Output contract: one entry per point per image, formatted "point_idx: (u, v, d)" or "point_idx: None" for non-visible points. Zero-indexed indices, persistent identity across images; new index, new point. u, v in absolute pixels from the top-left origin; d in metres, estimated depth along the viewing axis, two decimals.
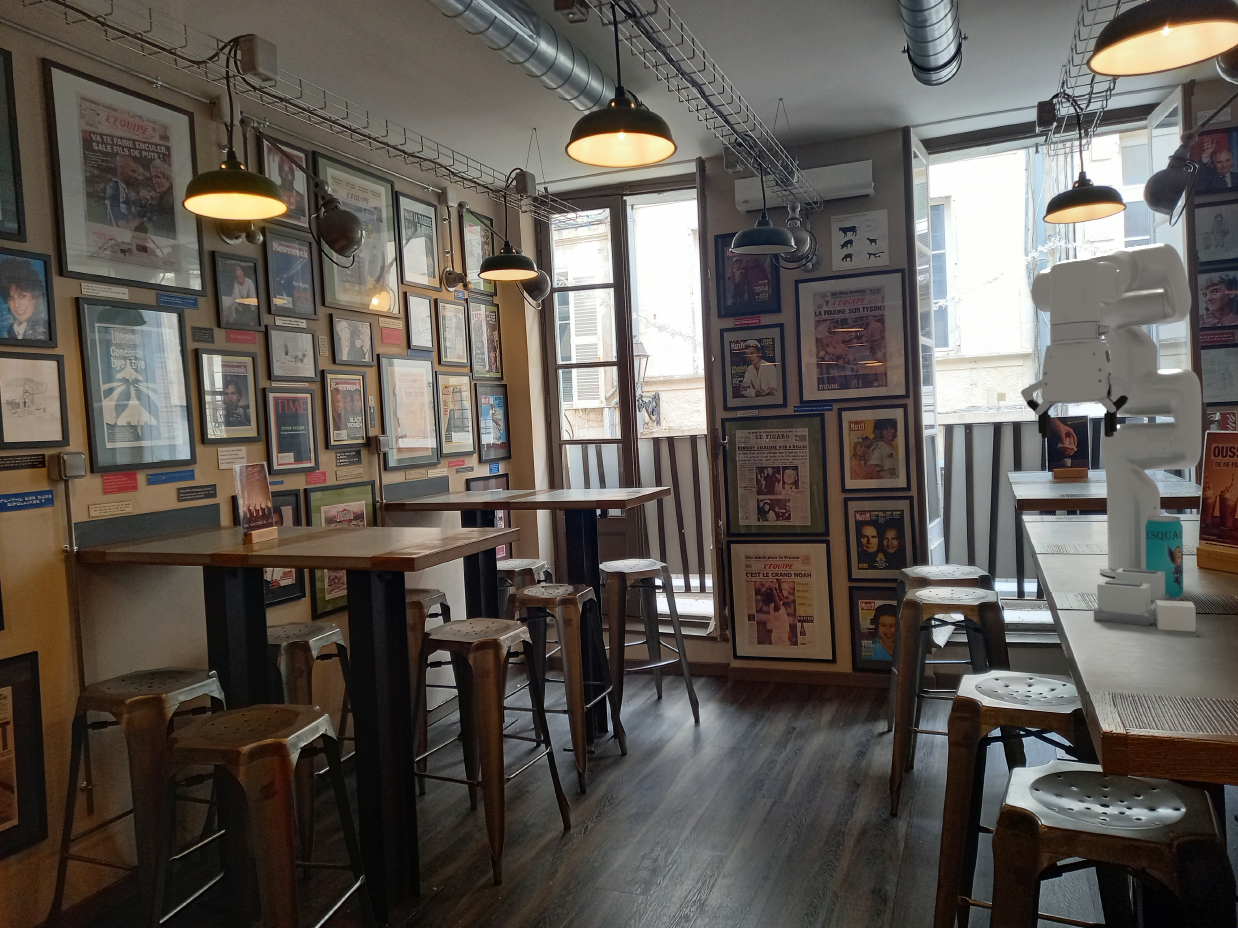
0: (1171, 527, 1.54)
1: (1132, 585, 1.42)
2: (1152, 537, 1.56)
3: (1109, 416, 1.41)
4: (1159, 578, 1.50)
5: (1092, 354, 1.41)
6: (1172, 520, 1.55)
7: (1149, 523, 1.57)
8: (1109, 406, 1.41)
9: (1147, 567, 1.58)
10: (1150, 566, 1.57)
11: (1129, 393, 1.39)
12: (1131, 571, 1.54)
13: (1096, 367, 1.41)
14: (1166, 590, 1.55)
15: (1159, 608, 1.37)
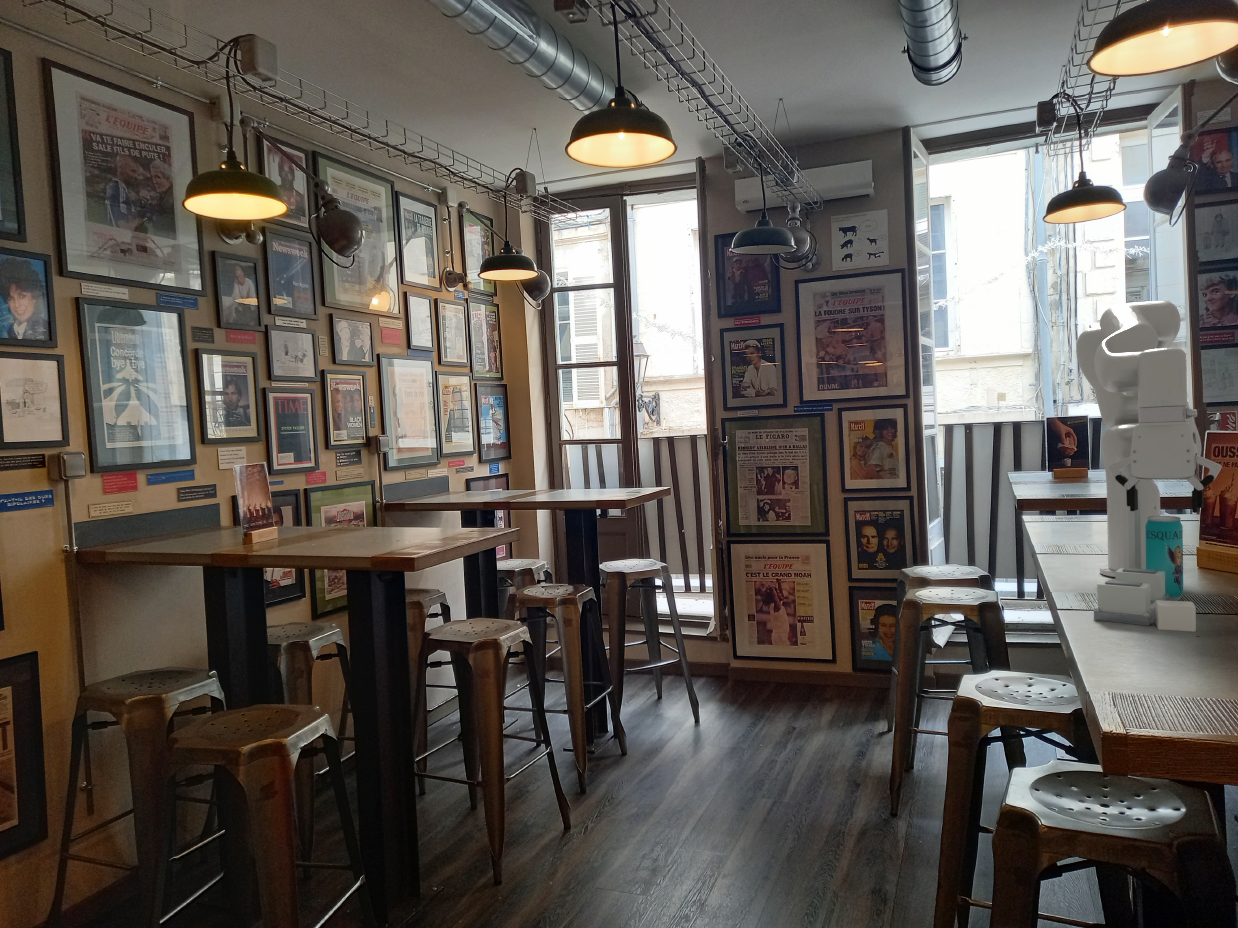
0: (1171, 527, 1.54)
1: (1132, 585, 1.42)
2: (1152, 537, 1.56)
3: (1196, 493, 1.52)
4: (1159, 578, 1.50)
5: (1180, 436, 1.53)
6: (1172, 520, 1.55)
7: (1149, 523, 1.57)
8: (1196, 484, 1.52)
9: (1147, 567, 1.58)
10: (1150, 566, 1.57)
11: (1216, 473, 1.51)
12: (1131, 571, 1.54)
13: (1184, 448, 1.52)
14: (1166, 590, 1.55)
15: (1159, 608, 1.37)
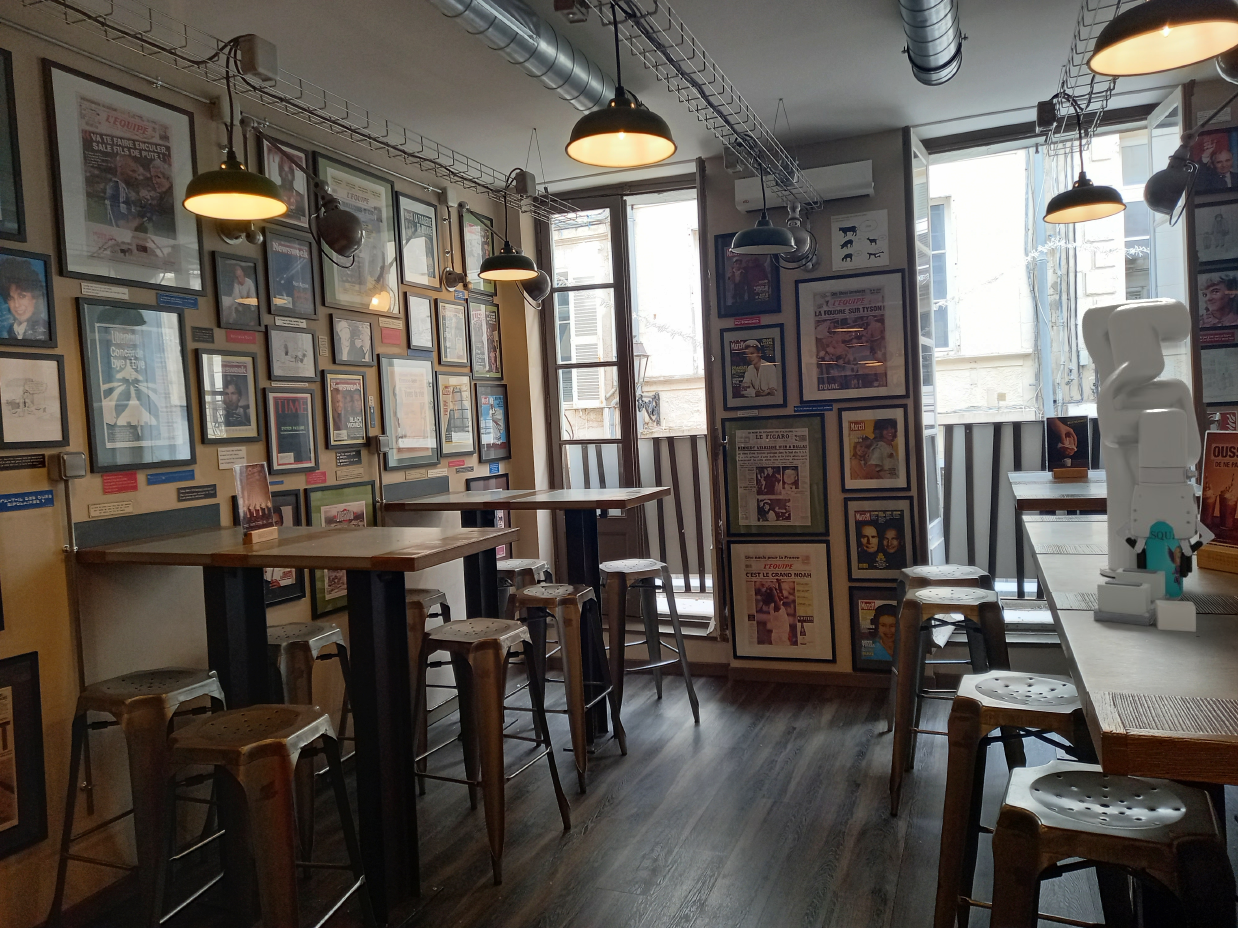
0: (1171, 527, 1.54)
1: (1132, 585, 1.42)
2: (1152, 537, 1.56)
3: (1185, 559, 1.54)
4: (1159, 578, 1.50)
5: (1181, 497, 1.53)
6: None
7: None
8: (1186, 550, 1.54)
9: (1147, 567, 1.58)
10: (1150, 566, 1.57)
11: (1206, 541, 1.53)
12: (1131, 571, 1.54)
13: (1184, 509, 1.53)
14: (1166, 590, 1.55)
15: (1159, 608, 1.37)
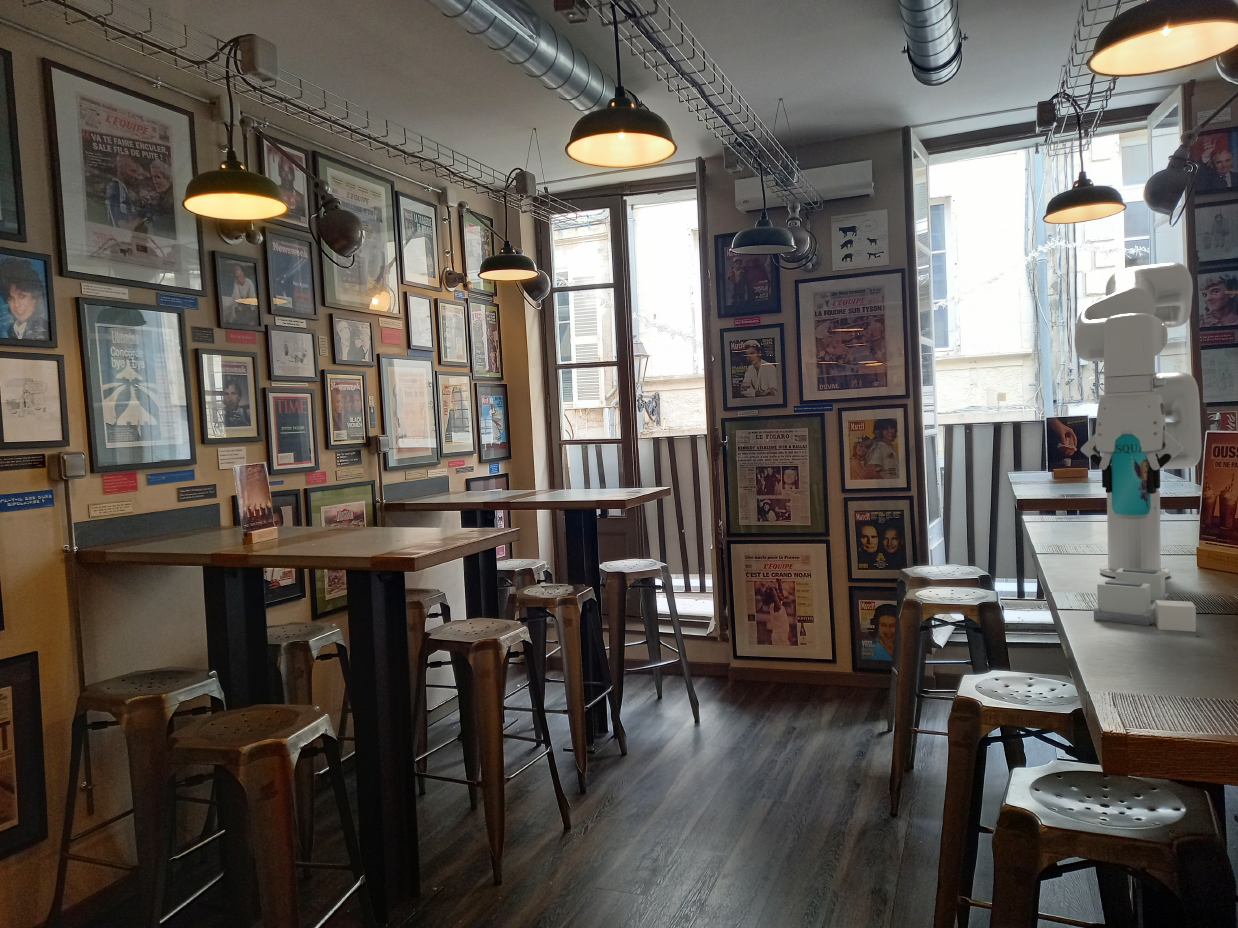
0: (1137, 439, 1.45)
1: (1132, 585, 1.42)
2: (1117, 451, 1.47)
3: (1153, 473, 1.45)
4: (1159, 578, 1.50)
5: (1147, 407, 1.44)
6: None
7: None
8: (1153, 464, 1.45)
9: (1113, 484, 1.48)
10: (1116, 482, 1.48)
11: (1174, 454, 1.43)
12: (1131, 571, 1.54)
13: (1151, 419, 1.43)
14: (1132, 507, 1.46)
15: (1159, 608, 1.37)
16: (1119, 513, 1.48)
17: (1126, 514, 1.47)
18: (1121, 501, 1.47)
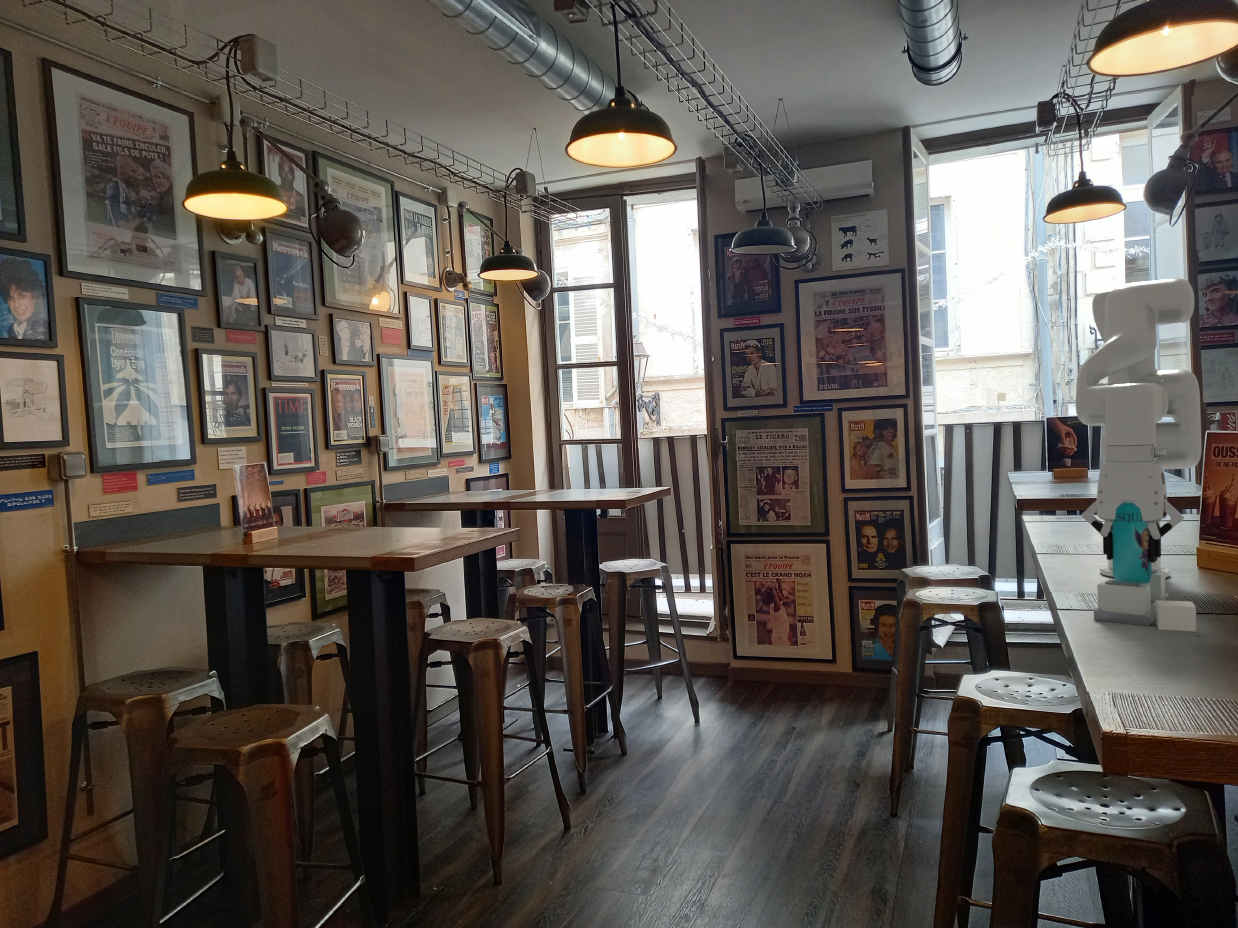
0: (1138, 508, 1.45)
1: (1132, 585, 1.42)
2: (1118, 519, 1.47)
3: (1154, 542, 1.45)
4: (1159, 578, 1.50)
5: (1148, 476, 1.44)
6: None
7: None
8: (1154, 533, 1.45)
9: (1114, 551, 1.49)
10: (1117, 550, 1.48)
11: (1175, 524, 1.44)
12: None
13: (1152, 489, 1.44)
14: (1133, 576, 1.46)
15: (1159, 608, 1.37)
16: None
17: None
18: (1122, 569, 1.47)
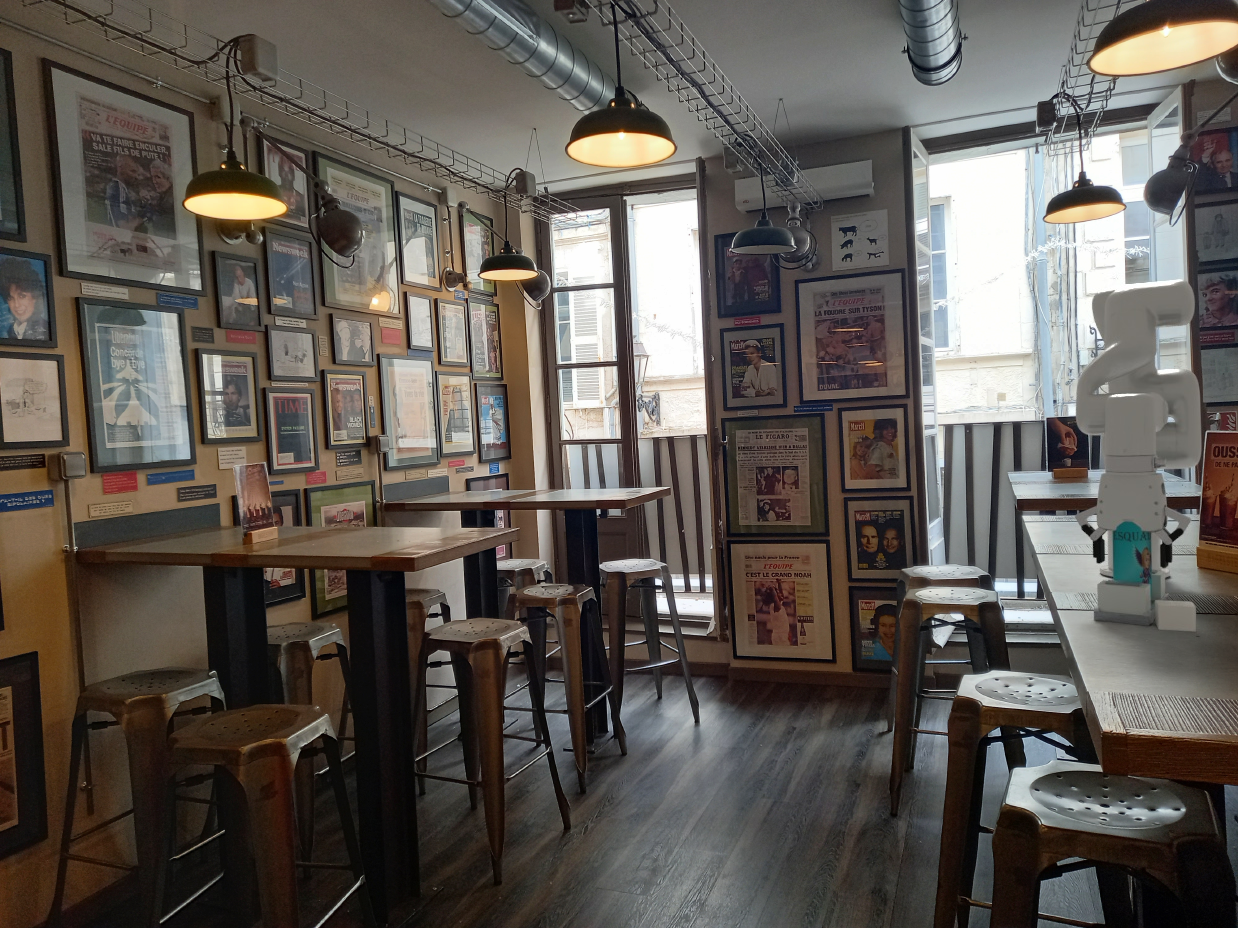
0: (1138, 527, 1.46)
1: (1132, 585, 1.42)
2: (1119, 538, 1.48)
3: (1165, 548, 1.44)
4: (1159, 578, 1.50)
5: (1148, 487, 1.44)
6: None
7: None
8: (1165, 538, 1.44)
9: (1114, 570, 1.49)
10: (1117, 568, 1.48)
11: (1185, 527, 1.43)
12: None
13: (1152, 499, 1.44)
14: None
15: (1159, 608, 1.37)
16: None
17: None
18: None
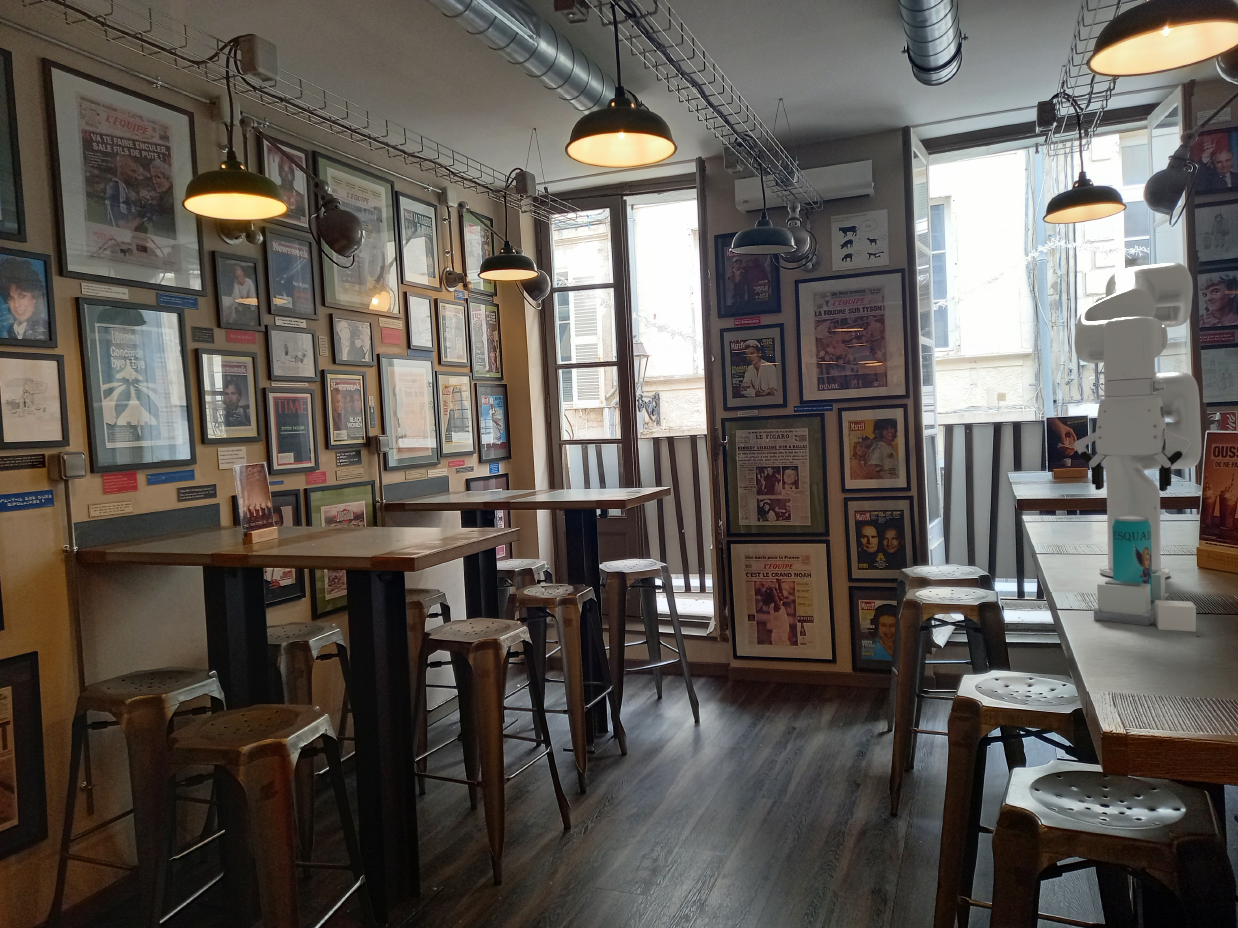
0: (1138, 527, 1.46)
1: (1132, 585, 1.42)
2: (1119, 538, 1.48)
3: (1164, 471, 1.44)
4: (1159, 578, 1.50)
5: (1147, 410, 1.44)
6: (1140, 520, 1.46)
7: (1116, 523, 1.49)
8: (1164, 461, 1.44)
9: (1114, 570, 1.49)
10: (1117, 568, 1.48)
11: (1184, 449, 1.42)
12: None
13: (1151, 423, 1.44)
14: None
15: (1159, 608, 1.37)
16: None
17: None
18: None
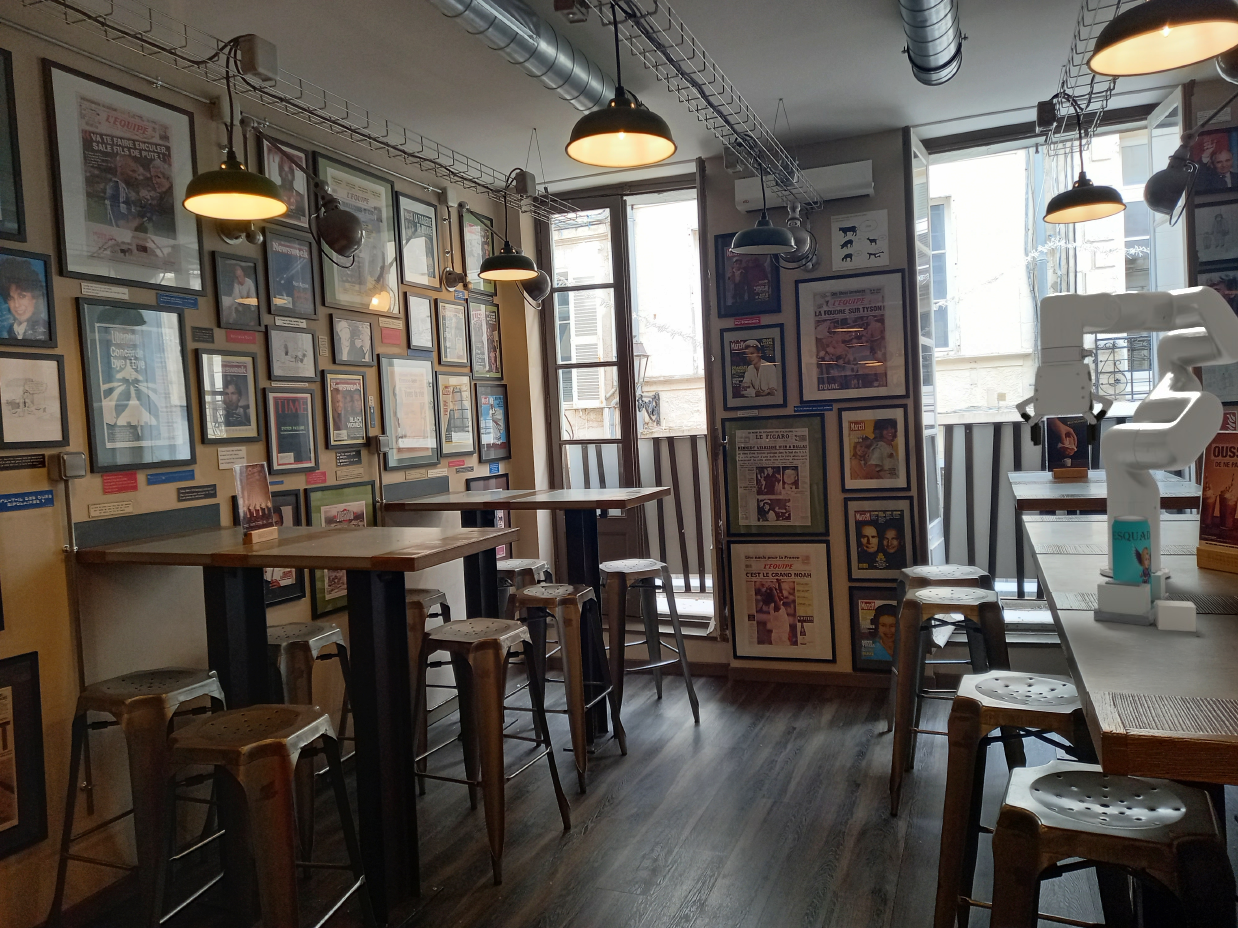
0: (1138, 527, 1.46)
1: (1132, 585, 1.42)
2: (1118, 538, 1.48)
3: (1091, 427, 1.65)
4: (1159, 578, 1.50)
5: (1076, 374, 1.65)
6: (1139, 520, 1.46)
7: (1115, 523, 1.49)
8: (1091, 419, 1.65)
9: (1114, 570, 1.49)
10: (1117, 568, 1.48)
11: (1108, 408, 1.63)
12: None
13: (1079, 385, 1.65)
14: None
15: (1160, 608, 1.37)
16: None
17: None
18: None
